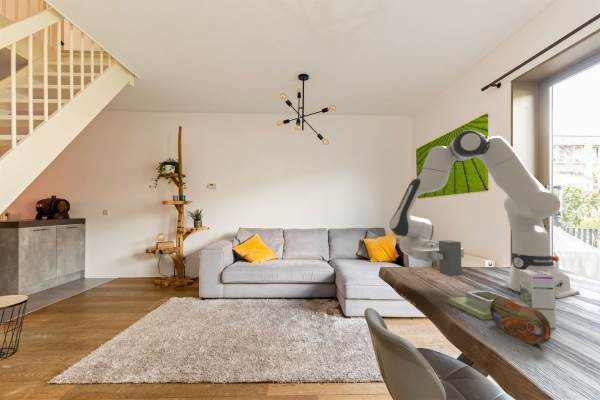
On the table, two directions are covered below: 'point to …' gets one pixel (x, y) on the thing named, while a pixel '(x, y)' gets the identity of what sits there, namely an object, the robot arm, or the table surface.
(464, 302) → the deck plate
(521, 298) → the syrup box
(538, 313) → the tin
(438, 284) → the table surface
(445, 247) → the chute block
